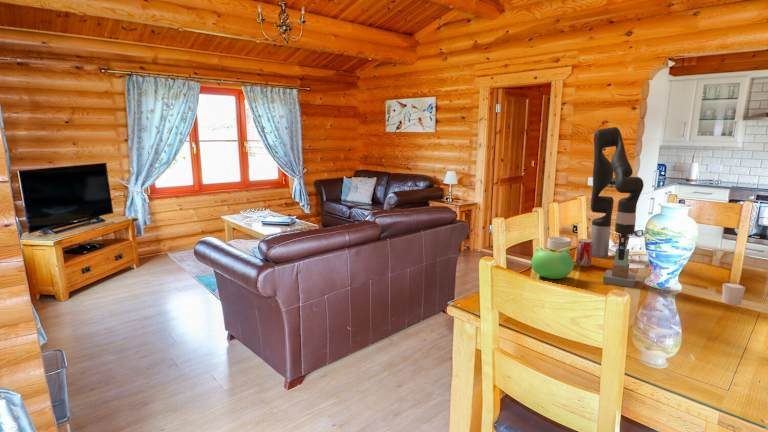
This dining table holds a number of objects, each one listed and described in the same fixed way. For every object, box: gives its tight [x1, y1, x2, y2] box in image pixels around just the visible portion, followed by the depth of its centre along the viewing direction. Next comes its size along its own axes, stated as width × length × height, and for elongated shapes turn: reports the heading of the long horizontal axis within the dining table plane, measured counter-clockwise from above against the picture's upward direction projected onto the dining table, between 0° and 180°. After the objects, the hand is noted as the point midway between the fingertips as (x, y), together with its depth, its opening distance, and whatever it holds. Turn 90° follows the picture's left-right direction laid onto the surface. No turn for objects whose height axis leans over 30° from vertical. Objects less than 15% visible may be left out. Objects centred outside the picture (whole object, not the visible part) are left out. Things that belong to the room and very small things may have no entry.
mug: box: [546, 236, 572, 255], centre depth 218 cm, size 15×11×13 cm
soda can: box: [575, 238, 593, 268], centre depth 213 cm, size 7×7×13 cm
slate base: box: [602, 269, 637, 289], centre depth 188 cm, size 12×12×3 cm
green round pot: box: [530, 246, 574, 280], centre depth 193 cm, size 18×17×15 cm
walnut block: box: [611, 263, 630, 278], centre depth 188 cm, size 6×6×5 cm
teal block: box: [613, 247, 630, 267], centre depth 187 cm, size 5×5×7 cm
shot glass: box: [721, 282, 746, 306], centre depth 163 cm, size 7×7×7 cm
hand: (621, 257), depth 187 cm, fingers open, 8 cm apart
